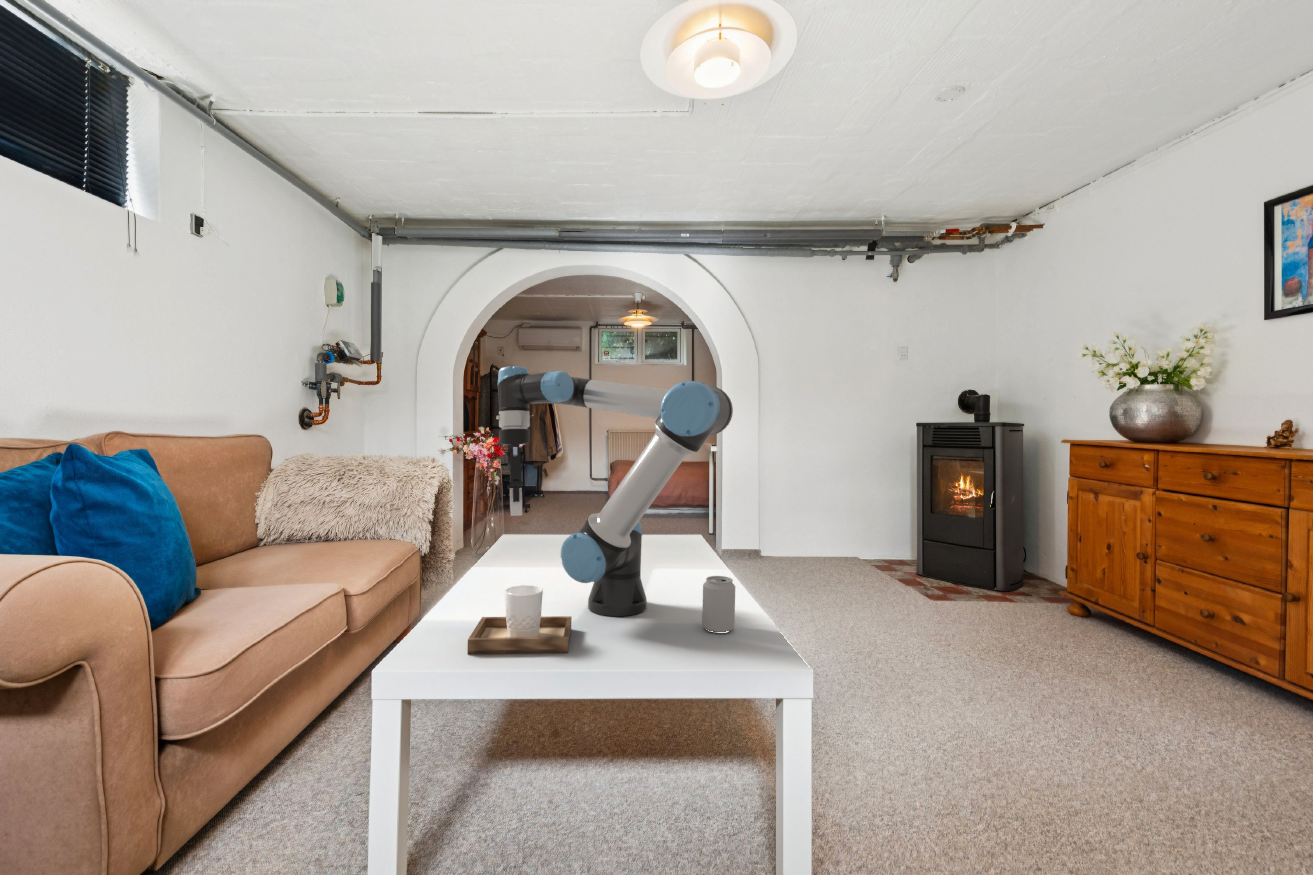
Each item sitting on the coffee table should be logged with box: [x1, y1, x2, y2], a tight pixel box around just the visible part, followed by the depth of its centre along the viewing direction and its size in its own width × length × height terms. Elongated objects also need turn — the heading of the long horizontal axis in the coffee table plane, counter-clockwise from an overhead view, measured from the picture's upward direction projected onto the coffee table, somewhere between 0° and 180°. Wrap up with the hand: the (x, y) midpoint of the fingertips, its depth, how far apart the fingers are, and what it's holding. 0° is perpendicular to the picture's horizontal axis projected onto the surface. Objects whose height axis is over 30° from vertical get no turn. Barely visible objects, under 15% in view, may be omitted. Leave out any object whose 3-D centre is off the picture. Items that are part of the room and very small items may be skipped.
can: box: [701, 575, 736, 632], centre depth 133 cm, size 8×8×12 cm
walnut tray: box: [467, 615, 573, 655], centre depth 123 cm, size 20×14×3 cm
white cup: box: [504, 584, 544, 637], centre depth 123 cm, size 8×8×10 cm
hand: (516, 513), depth 143 cm, fingers open, 13 cm apart
